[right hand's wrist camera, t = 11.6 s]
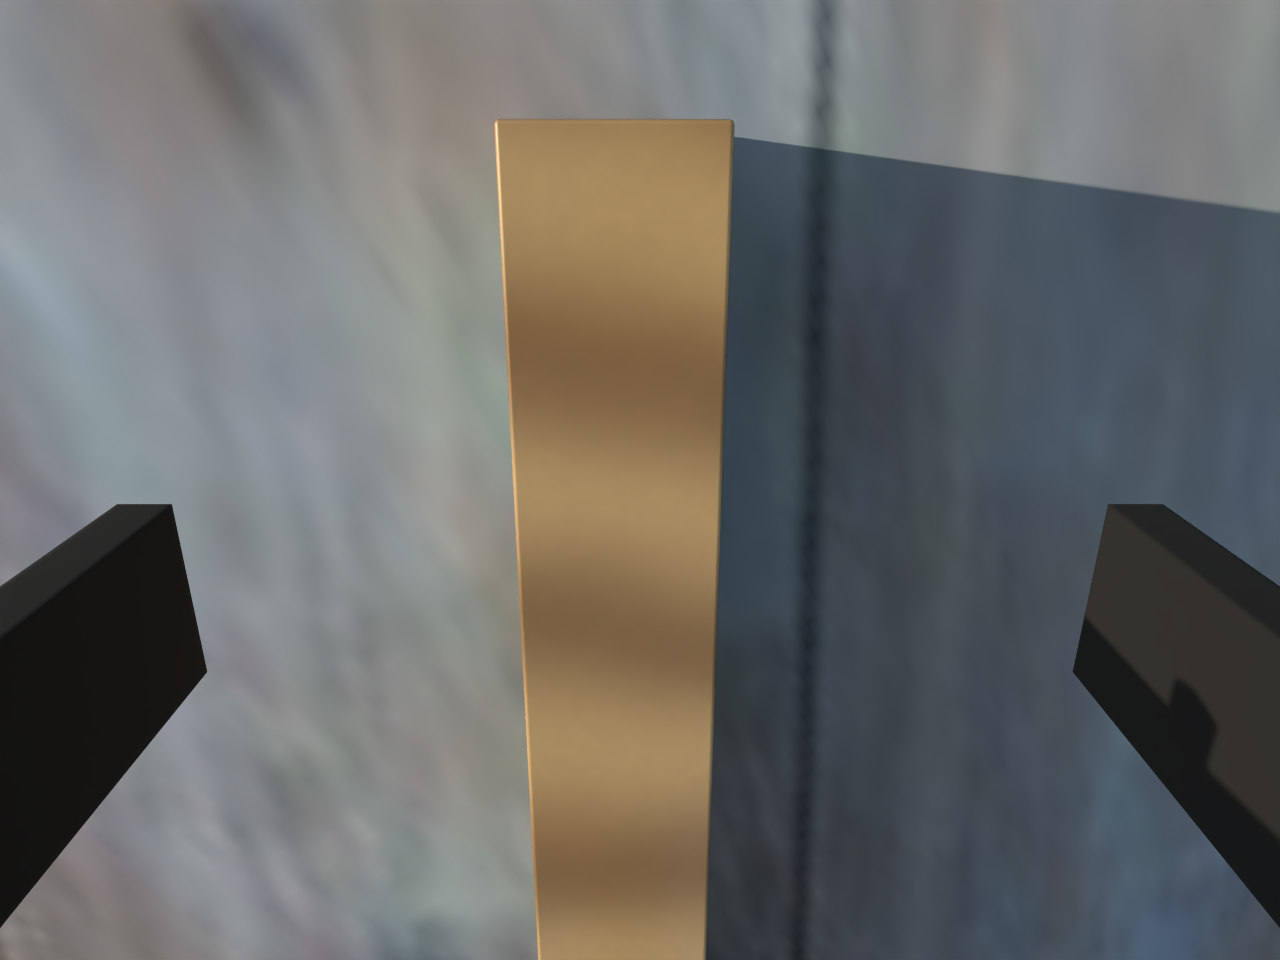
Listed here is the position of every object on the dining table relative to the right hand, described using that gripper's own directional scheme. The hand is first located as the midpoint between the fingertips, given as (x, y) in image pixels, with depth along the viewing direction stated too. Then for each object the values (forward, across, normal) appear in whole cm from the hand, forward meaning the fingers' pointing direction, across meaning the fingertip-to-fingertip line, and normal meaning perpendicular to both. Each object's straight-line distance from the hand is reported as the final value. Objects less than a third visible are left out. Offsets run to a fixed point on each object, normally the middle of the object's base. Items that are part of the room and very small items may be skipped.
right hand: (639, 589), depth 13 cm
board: (+15, -1, -26) cm, 30 cm away
